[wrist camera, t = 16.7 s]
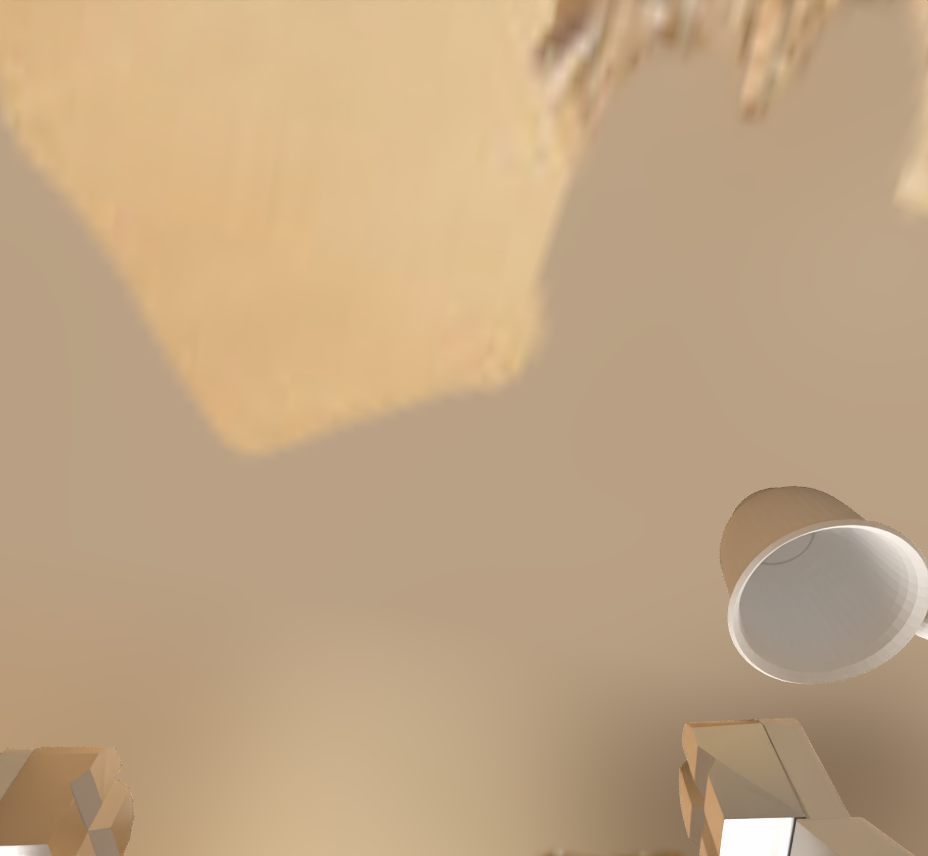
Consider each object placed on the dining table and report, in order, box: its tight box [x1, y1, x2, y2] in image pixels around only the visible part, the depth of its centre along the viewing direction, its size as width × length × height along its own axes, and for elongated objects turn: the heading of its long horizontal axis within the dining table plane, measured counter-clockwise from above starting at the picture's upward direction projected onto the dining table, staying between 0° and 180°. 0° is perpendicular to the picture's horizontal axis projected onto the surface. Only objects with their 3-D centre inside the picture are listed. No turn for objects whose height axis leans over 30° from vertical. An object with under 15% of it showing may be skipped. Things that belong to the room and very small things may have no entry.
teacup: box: [720, 486, 928, 684], centre depth 50 cm, size 12×15×10 cm
